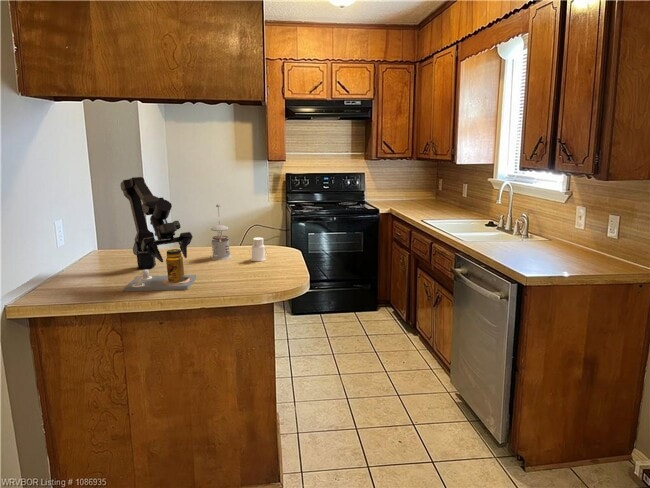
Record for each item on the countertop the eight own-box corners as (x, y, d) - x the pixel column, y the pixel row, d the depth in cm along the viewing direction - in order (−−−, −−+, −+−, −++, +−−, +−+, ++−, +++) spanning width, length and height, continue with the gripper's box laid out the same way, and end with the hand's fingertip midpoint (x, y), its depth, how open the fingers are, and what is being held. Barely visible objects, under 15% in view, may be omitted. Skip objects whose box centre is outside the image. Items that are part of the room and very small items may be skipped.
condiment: (164, 283, 178) (161, 252, 176) (172, 276, 187) (169, 247, 184) (183, 283, 178) (180, 252, 175) (190, 276, 186) (188, 247, 184)
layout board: (124, 291, 175) (123, 279, 174) (137, 279, 189) (136, 268, 188) (187, 289, 176) (186, 277, 175) (195, 278, 190) (195, 267, 189)
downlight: (250, 262, 213) (250, 240, 211) (248, 258, 220) (248, 237, 217) (268, 261, 215) (268, 239, 213) (265, 257, 222) (265, 236, 220)
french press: (210, 260, 217) (206, 206, 211) (210, 254, 228) (206, 202, 222) (232, 259, 219) (229, 205, 213) (231, 253, 230) (228, 201, 224)
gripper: (140, 217, 174) (153, 251, 169) (188, 211, 186) (203, 243, 180) (135, 234, 182) (148, 268, 176) (182, 228, 194) (195, 259, 188)
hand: (174, 259), depth 180 cm, fingers open, 9 cm apart
